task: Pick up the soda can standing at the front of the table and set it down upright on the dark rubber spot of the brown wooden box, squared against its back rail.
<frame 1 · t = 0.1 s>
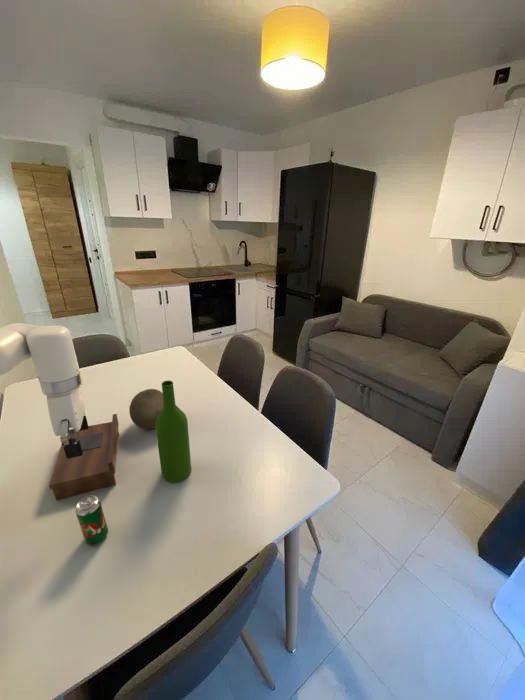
hand: (78, 442, 71), 22 cm above the table, tool pointing down, fingers open, 9 cm apart
soda can: (97, 537, 72), on the table
wine bottle: (176, 472, 91), on the table
brown wooden box: (92, 462, 93), on the table
cantaloupe: (152, 426, 111), on the table
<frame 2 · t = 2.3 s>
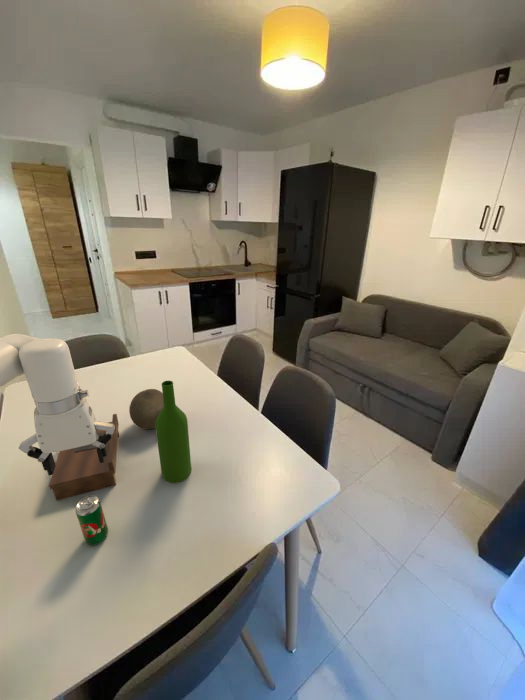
hand: (78, 464, 65), 22 cm above the table, tool pointing down, fingers open, 9 cm apart
nothing on the table moved.
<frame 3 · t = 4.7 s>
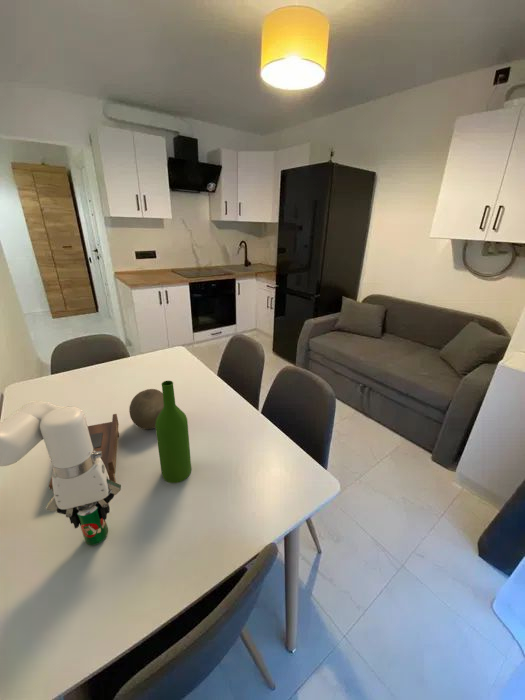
hand: (91, 518, 69), 7 cm above the table, tool pointing down, fingers closed on soda can, 5 cm apart
soda can: (97, 537, 72), on the table, touching gripper
everything else where it was.
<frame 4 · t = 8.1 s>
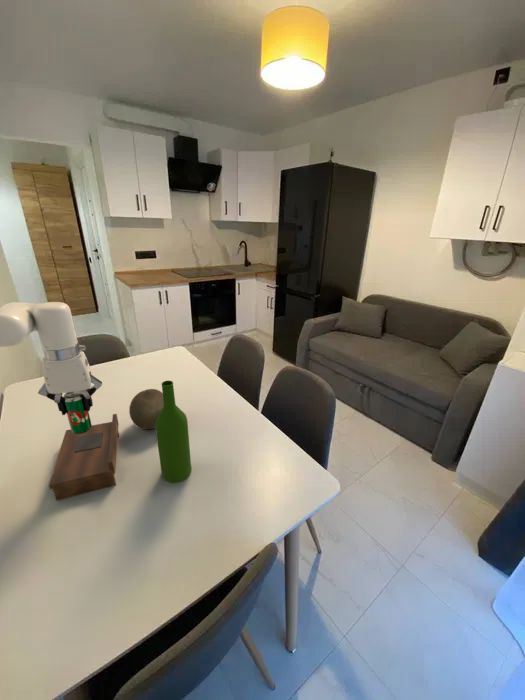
hand: (77, 409, 81), 23 cm above the table, tool pointing down, fingers closed on soda can, 5 cm apart
soda can: (82, 429, 84), point 16 cm above the table, touching gripper
everything else where it was.
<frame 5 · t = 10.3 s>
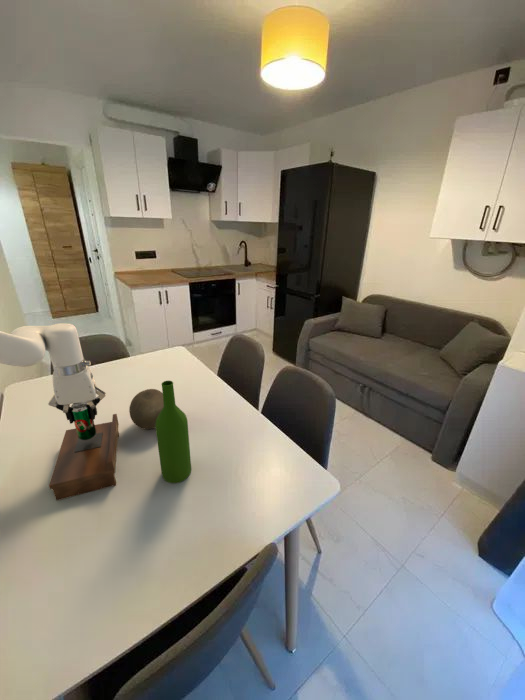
hand: (83, 418, 90), 15 cm above the table, tool pointing down, fingers closed on soda can, 5 cm apart
soda can: (87, 436, 92), point 8 cm above the table, touching gripper
everything else where it was.
when the fingers open (13 cm above the table, at t = 11.5 s): soda can stays where it is, resting on brown wooden box.
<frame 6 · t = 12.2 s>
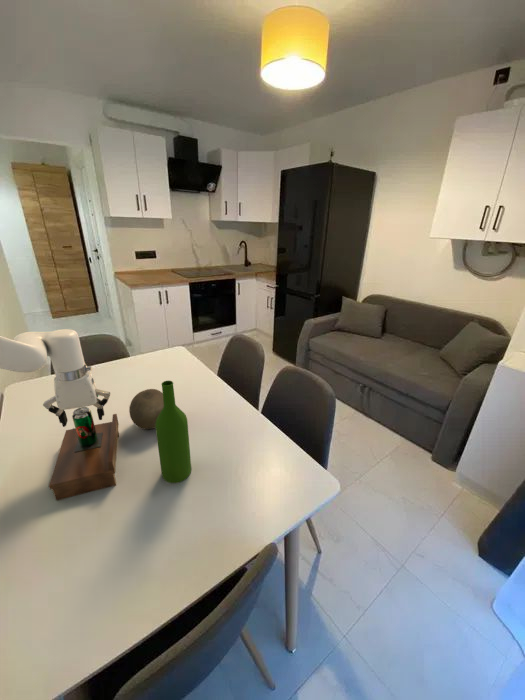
hand: (83, 420, 90), 15 cm above the table, tool pointing down, fingers open, 9 cm apart
soda can: (89, 442, 93), point 6 cm above the table, touching brown wooden box
everything else where it was.
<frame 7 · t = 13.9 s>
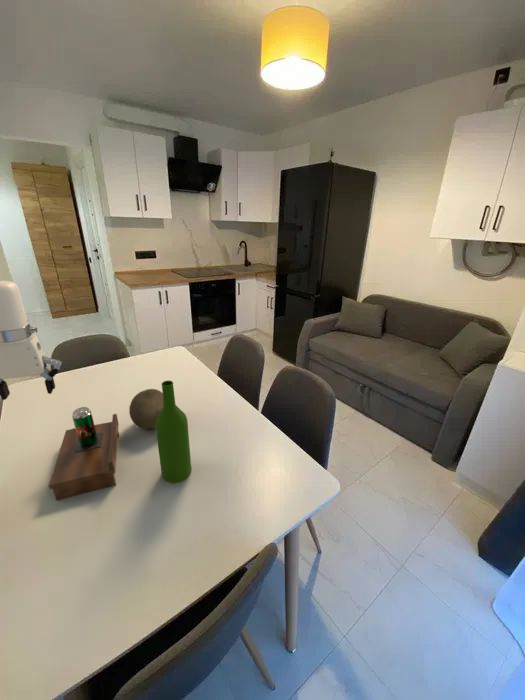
hand: (29, 394, 77), 29 cm above the table, tool pointing down, fingers open, 9 cm apart
nothing on the table moved.
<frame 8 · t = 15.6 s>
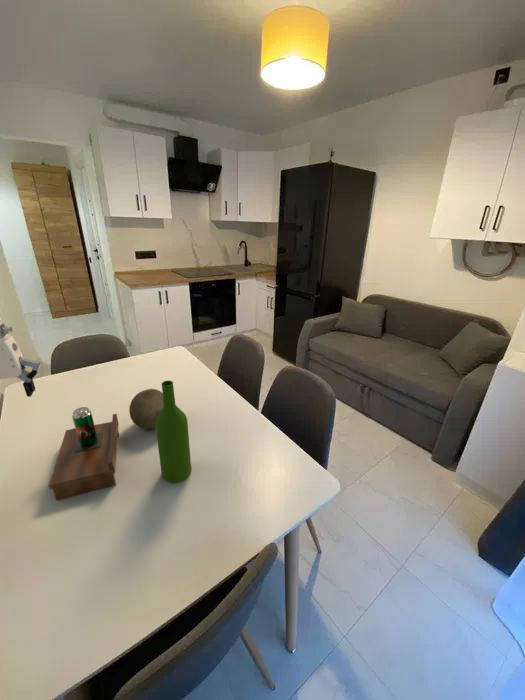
hand: (7, 397, 73), 30 cm above the table, tool pointing down, fingers open, 9 cm apart
nothing on the table moved.
at the end: soda can 0.1 cm from the target spot on the brown wooden box, point 6.0 cm above the brown wooden box's base; soda can tilted 0° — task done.
